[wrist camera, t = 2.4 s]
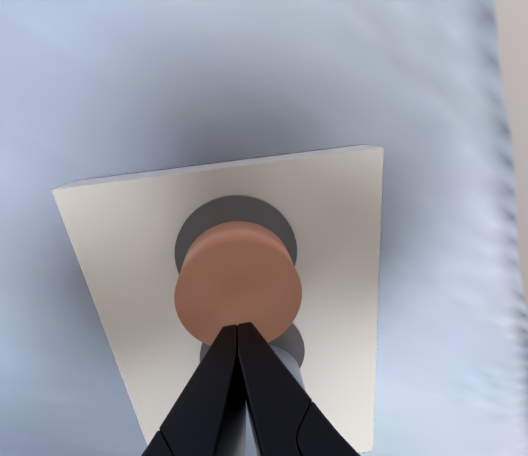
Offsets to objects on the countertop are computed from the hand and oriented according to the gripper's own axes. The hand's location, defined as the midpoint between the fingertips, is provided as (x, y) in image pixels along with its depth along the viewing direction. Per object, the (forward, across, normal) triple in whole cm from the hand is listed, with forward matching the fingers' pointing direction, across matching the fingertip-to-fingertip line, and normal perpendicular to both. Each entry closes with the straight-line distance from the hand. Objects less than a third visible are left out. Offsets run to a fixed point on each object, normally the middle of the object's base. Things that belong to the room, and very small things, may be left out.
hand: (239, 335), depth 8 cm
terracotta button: (+4, 0, 0) cm, 4 cm away
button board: (+8, 0, +6) cm, 10 cm away
